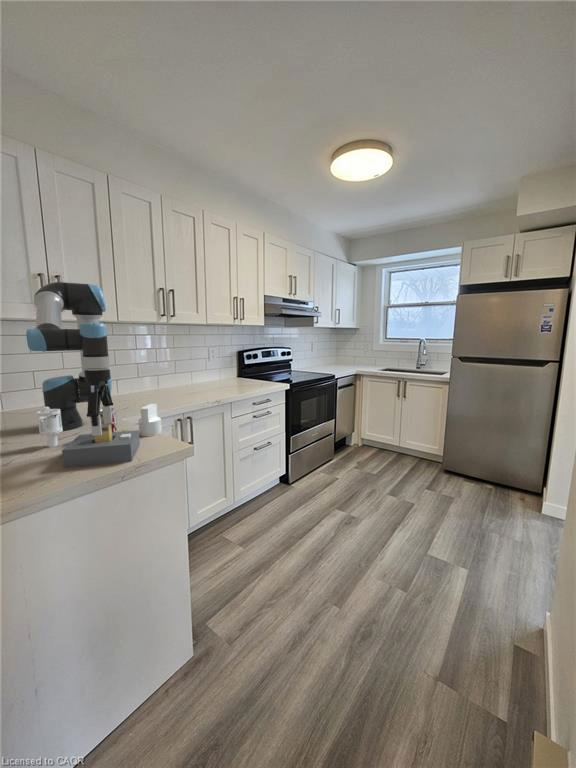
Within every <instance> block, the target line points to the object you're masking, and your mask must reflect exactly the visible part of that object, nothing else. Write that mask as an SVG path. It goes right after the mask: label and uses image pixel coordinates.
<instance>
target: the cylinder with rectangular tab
mask: <svg viewBox="0 0 576 768" xmlns="http://www.w3.org/2000/svg"><path fill="white" fill-rule="evenodd" d="M140 416H141V417H140V419H138V430H139V436H141V435H143V436H142V437H150V436H149V435H153V436H155V435H154V434H157V433H158V434H157V435H161V434H162V430H163V429H162V418H161V417H159V416H158V404H157V403H149V404H147V405H145V406H143V407H140Z"/></svg>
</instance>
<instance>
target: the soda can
mask: <svg viewBox="0 0 576 768" xmlns="http://www.w3.org/2000/svg"><path fill="white" fill-rule="evenodd" d="M111 413H112V423H111V428H112V432H118V423H117V413H116V412H115V410H114V408H113V407H111ZM99 415H100V419H101V424H104V421H103V411H102V408H100V410H99Z"/></svg>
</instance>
